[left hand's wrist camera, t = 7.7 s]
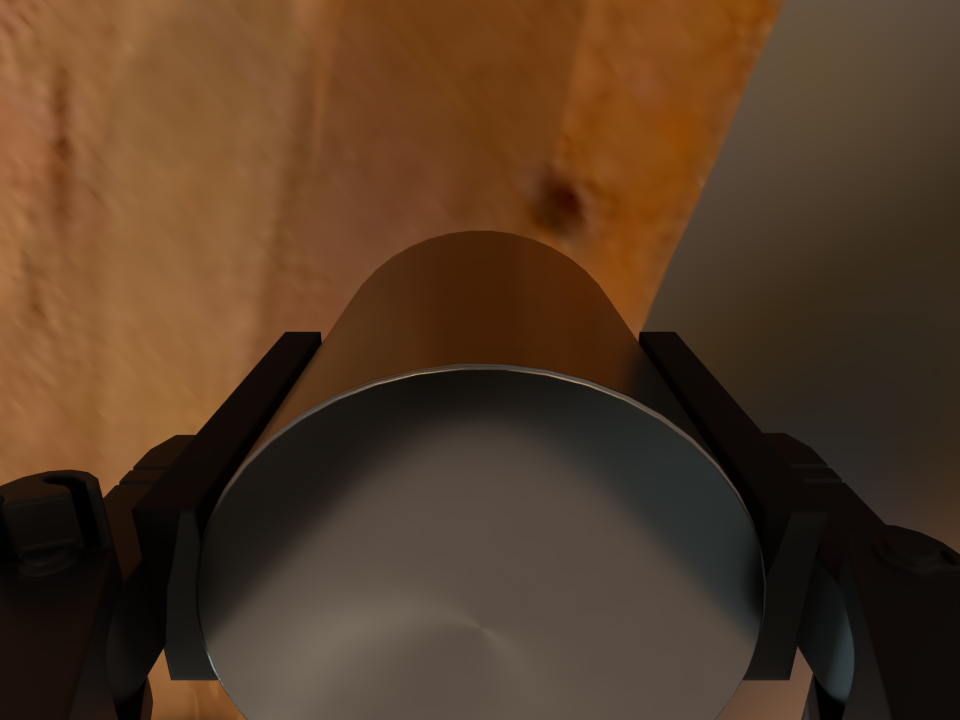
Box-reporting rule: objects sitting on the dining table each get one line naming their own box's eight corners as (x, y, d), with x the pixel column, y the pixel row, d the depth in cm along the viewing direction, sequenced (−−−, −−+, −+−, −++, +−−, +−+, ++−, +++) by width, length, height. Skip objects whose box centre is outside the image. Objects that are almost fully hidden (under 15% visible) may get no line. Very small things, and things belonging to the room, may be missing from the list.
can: (405, 172, 13) (317, 249, 6) (686, 314, 14) (890, 519, 7) (289, 437, 15) (126, 721, 8) (540, 542, 16) (585, 872, 9)
